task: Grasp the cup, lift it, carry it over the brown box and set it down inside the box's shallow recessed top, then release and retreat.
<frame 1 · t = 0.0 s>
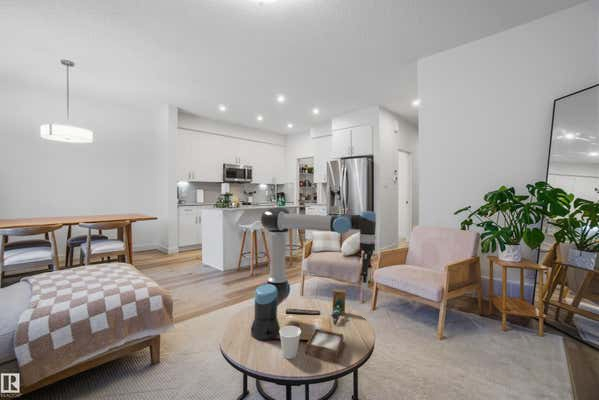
hand: (366, 284, 131), 28 cm above the table, fingers open, 13 cm apart
figurine: (337, 318, 154), on the table
brown box: (325, 349, 122), on the table
cup: (289, 355, 118), on the table
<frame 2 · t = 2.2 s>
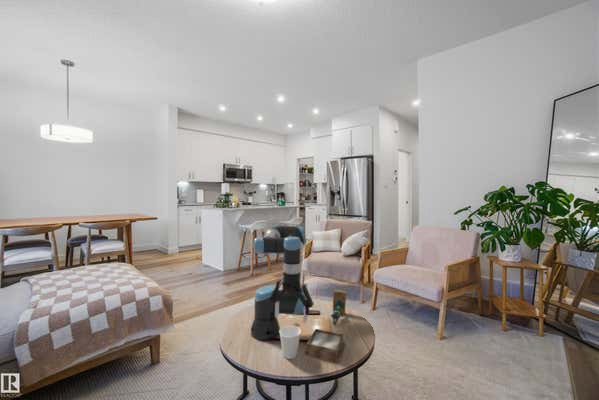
hand: (290, 318, 118), 17 cm above the table, fingers open, 13 cm apart
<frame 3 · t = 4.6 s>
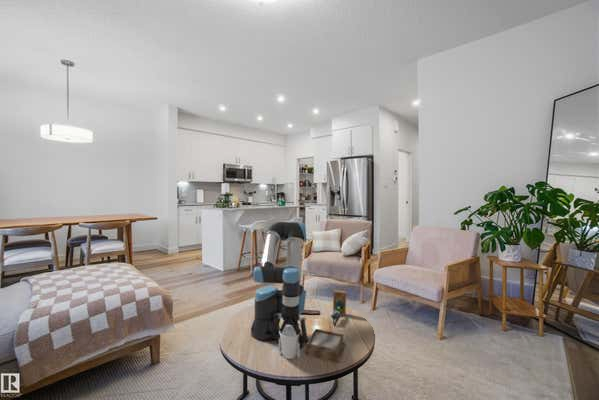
hand: (289, 353, 118), 1 cm above the table, fingers closed on cup, 8 cm apart
cup: (289, 355, 118), on the table, touching gripper
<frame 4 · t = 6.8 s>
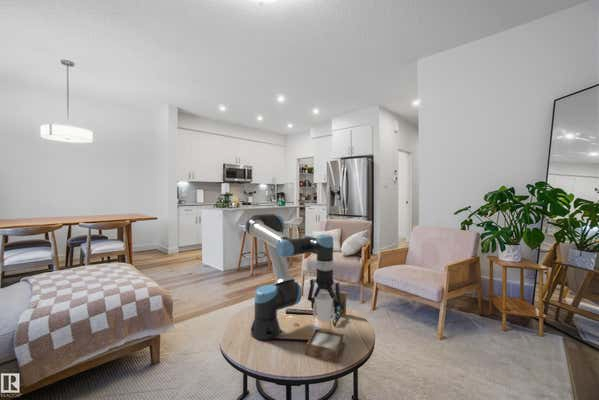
hand: (324, 317, 121), 16 cm above the table, fingers closed on cup, 8 cm apart
cup: (324, 319, 121), point 15 cm above the table, touching gripper
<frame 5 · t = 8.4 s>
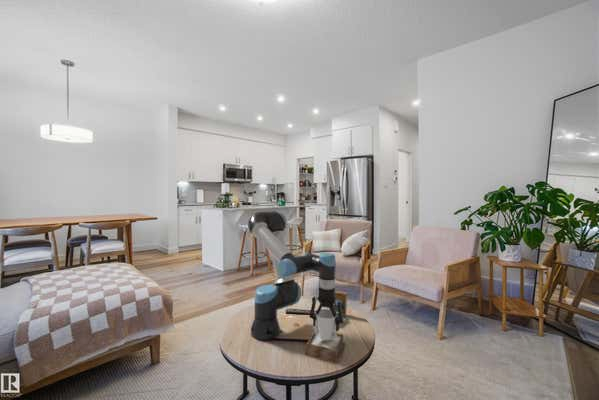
hand: (325, 334, 122), 7 cm above the table, fingers closed on cup, 8 cm apart
cup: (325, 337, 122), point 6 cm above the table, touching gripper
when the fingers open (6 cm above the table, at t = 9.4 s): cup drops 1 cm, resting on brown box.
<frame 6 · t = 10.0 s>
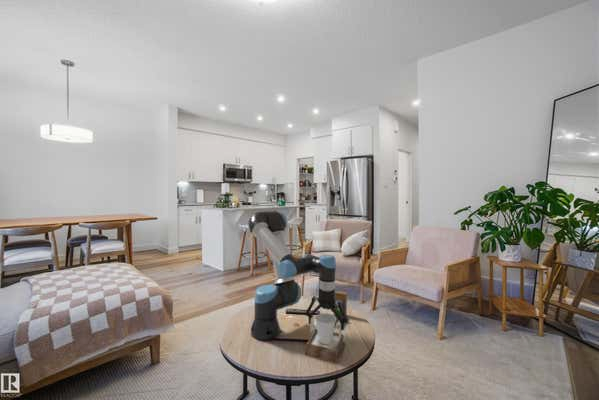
hand: (325, 333, 122), 8 cm above the table, fingers open, 13 cm apart
cup: (325, 341, 122), point 4 cm above the table, touching brown box
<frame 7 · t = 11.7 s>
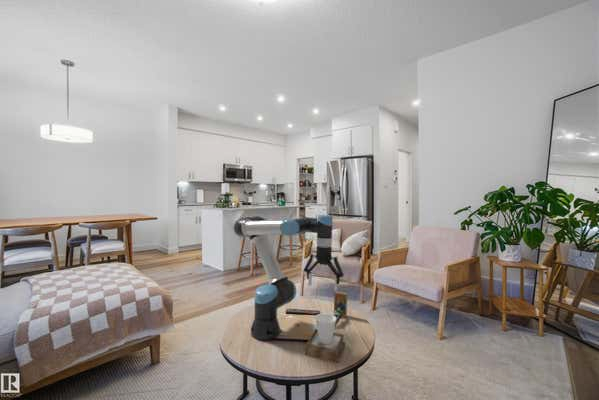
hand: (322, 287, 132), 26 cm above the table, fingers open, 13 cm apart
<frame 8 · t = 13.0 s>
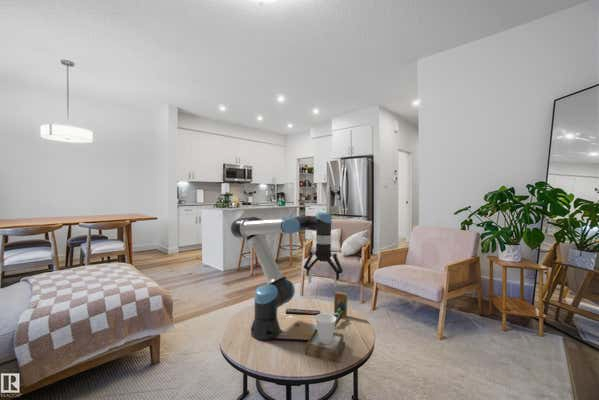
hand: (322, 284, 134), 27 cm above the table, fingers open, 13 cm apart
at the end: cup 0.3 cm off-centre on the brown box, point 4.0 cm above the brown box's base; cup tilted 0°; the gripper is holding nothing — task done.
